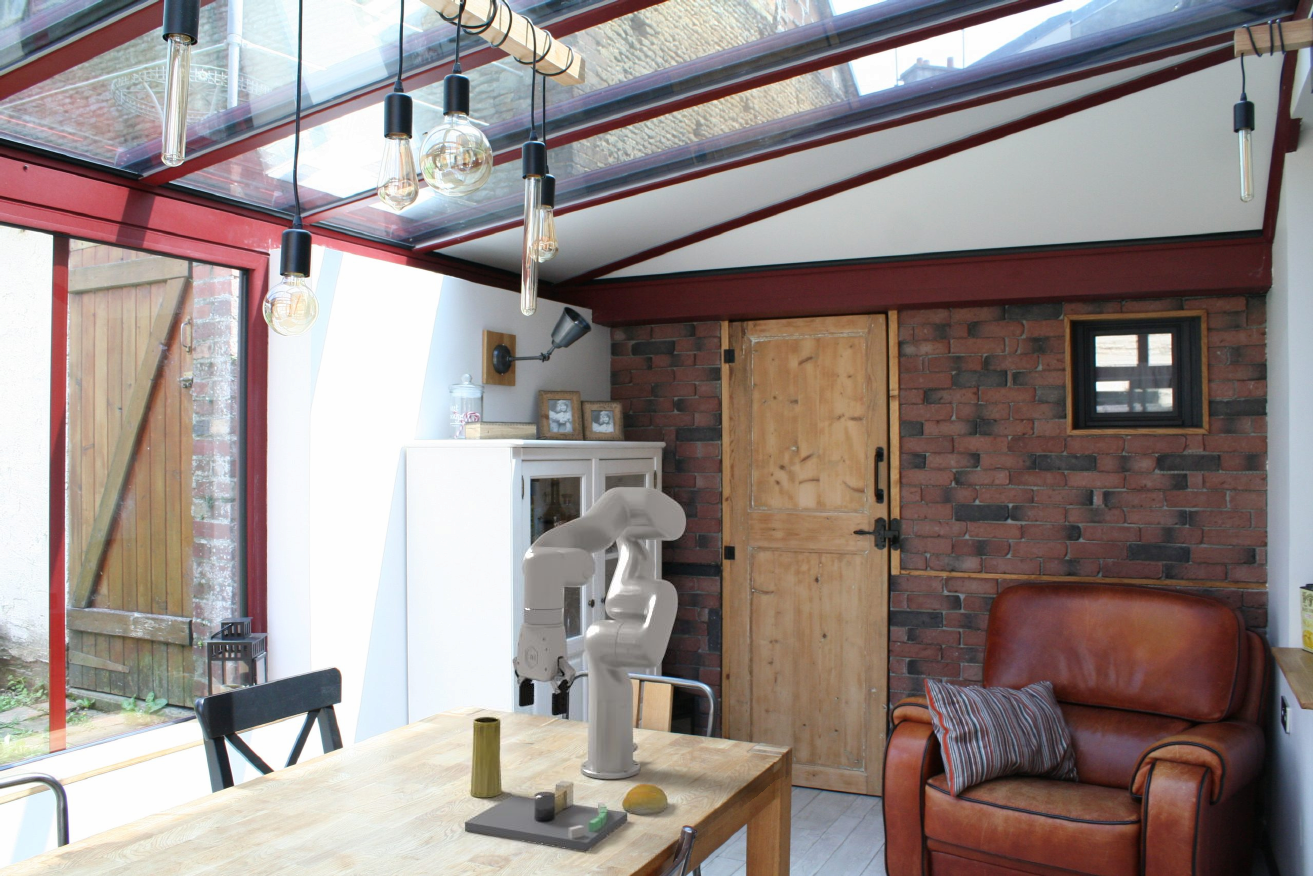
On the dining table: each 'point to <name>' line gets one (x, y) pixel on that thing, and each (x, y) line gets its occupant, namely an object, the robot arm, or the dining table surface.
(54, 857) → the dining table surface
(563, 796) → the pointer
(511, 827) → the grey flat slab
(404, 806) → the dining table surface
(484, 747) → the vase
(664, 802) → the bread roll
